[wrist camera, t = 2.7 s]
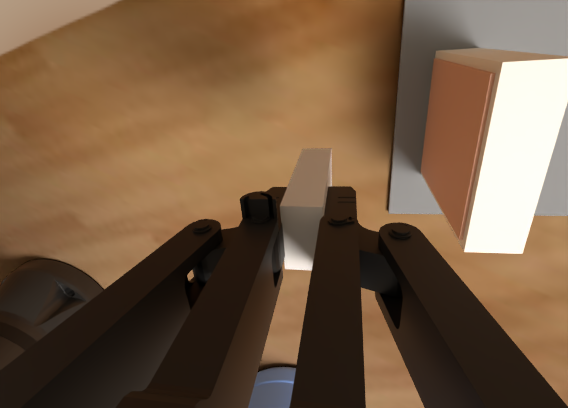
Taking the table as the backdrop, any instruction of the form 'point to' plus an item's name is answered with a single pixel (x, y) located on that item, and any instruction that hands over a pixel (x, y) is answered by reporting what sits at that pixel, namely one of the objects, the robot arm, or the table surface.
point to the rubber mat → (462, 35)
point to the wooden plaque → (492, 141)
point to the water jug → (273, 388)
